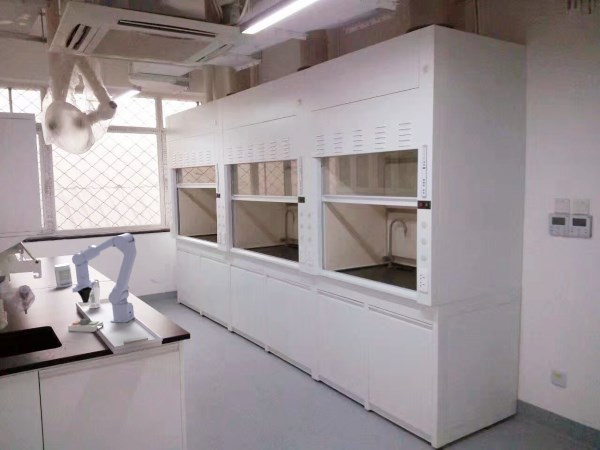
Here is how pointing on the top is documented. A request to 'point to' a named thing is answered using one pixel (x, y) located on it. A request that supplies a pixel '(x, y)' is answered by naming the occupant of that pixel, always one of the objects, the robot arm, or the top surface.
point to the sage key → (93, 323)
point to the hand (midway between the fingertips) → (85, 302)
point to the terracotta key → (76, 323)
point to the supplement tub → (63, 275)
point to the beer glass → (94, 295)
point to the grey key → (85, 321)
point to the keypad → (84, 327)
